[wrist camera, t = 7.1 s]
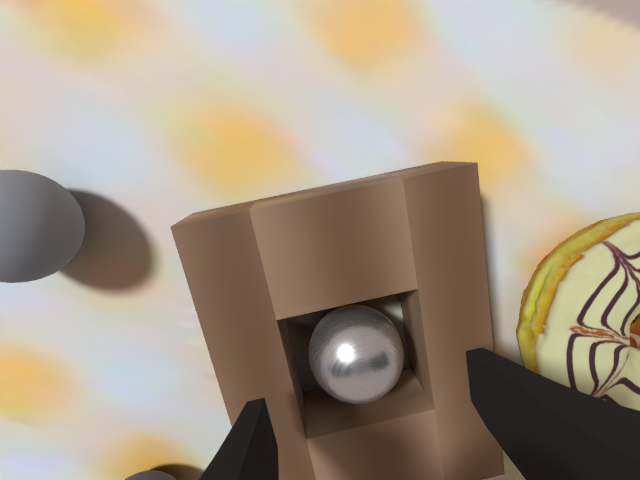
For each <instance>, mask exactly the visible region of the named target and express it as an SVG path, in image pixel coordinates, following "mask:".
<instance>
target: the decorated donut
mask: <svg viewBox="0 0 640 480" xmlns="http://www.w3.org/2000/svg"><path fill="white" fill-rule="evenodd" d="M638 314H639V315H638ZM637 315H638V318H637V319H636V321H635V322H634V323H633V324H632V325H631V323H632V321H633V320H634V318H635V317H636V316H637ZM516 335H517V340H518V344H519V349H520V354H521V357H522V360H523V363H524V365H525V367H526V368H527V369H529V370H531V371H533V372H535V373H537V374H540V375H542V376H544V377H546V378H549V379H551V380H553V381H555V382H558V383H560V384H563V385H565V386H568V387H570V388H572V389H575V390H578V391H580V392H583V393H585V394H588V395H591V396H594V397H597V398H600V399H603V400H606V401H609V402H612V403H615V404H618V405H621V406H624V407H628V408H631V409H635V410H639V411H640V212H637V213H630V214H629V213H628V214H625V215H621V216H618V217H613V218H609V219H605V220H600V221H598V222H597V223H595V224H592V225H590V226H588V227H586V228H584V229H582V230H580V231H578V232H577V233H575V234H574V235H572V236H571V237H569V238H568V239H566V240H565V241H563V242H561V243H560V244H559V245H558V246H556V247H555V248H554V249H553V250H552V251H551V252H550V253H549V254H548V255H547V256H545V257H544V258H543V259H542V261H541V262H540V264H539V265H538V266H537V269H536V270H535V272H534V274H533V276H532V278H531V280H530V282H529V285H528V286H527V288H526V289H525V290H524V292H523V297H522V301H521V308H520V314H519V322H518V326H517V329H516Z"/></svg>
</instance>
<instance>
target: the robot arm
mask: <svg viewBox="0 0 640 480" xmlns="http://www.w3.org/2000/svg"><path fill="white" fill-rule="evenodd" d="M465 352H466V361H467V370H468V379H469V388H470V398H471V402H472V403H473V405H474V407H475V409H476V410H477V412H478V414H479V416H480V417H481V419H482V421H483V422H484V424H485V426H486V427H487V429H488V430H489V431H490V433H491V434H492V435H493V437H494V438H495V439H496V441H497V442H498V443H499V445H500V446H501V447H502V449H503V450H504V451H505V453H506V454H507V455H508V457H509V458H510V459H511V461H512V462H513V463H514V464H515V466H516V467H517V468H518V470H519V471H520V472H521V474H522V475H523V476H524V478H525V479H526V480H640V411H639V410H635V409H631V408H628V407H624V406H621V405H618V404H615V403H612V402H609V401H606V400H603V399H600V398H597V397H594V396H591V395H588V394H585V393H583V392H580V391H578V390H575V389H572V388H570V387H568V386H565V385H563V384H560V383H558V382H555V381H553V380H551V379H549V378H546V377H544V376H542V375H540V374H537V373H535V372H533V371H531V370H529V369H527V368H524V367H522V366H520V365H518V364H516V363H514V362H512V361H510V360H508V359H506V358H504V357H502V356H500V355H498V354H496V353H494V352H491V351H489V350H487V349H485V348H477V349H473V350H469V351H465ZM199 480H279V465H278V445H277V441H276V438H275V434H274V430H273V427H272V423H271V419H270V416H269V412H268V409H267V405H266V401H265V398H260V399H256V400H252V401H247V403H246V404H245V405H244V407H243V409H242V411H241V413H240V414H239V416H238V418H237V420H236V422H235V423H234V425H233V427H232V429H231V430H230V432H229V434H228V435H227V437H226V439H225V440H224V442H223V444H222V445H221V447H220V449H219V450H218V452H217V454H216V455H215V457H214V458H213V460H212V461H211V463H210V464H209V466H208V467H207V469H206V470H205V471H204V473H203V474H202V476H201V477H200V479H199Z"/></svg>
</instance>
